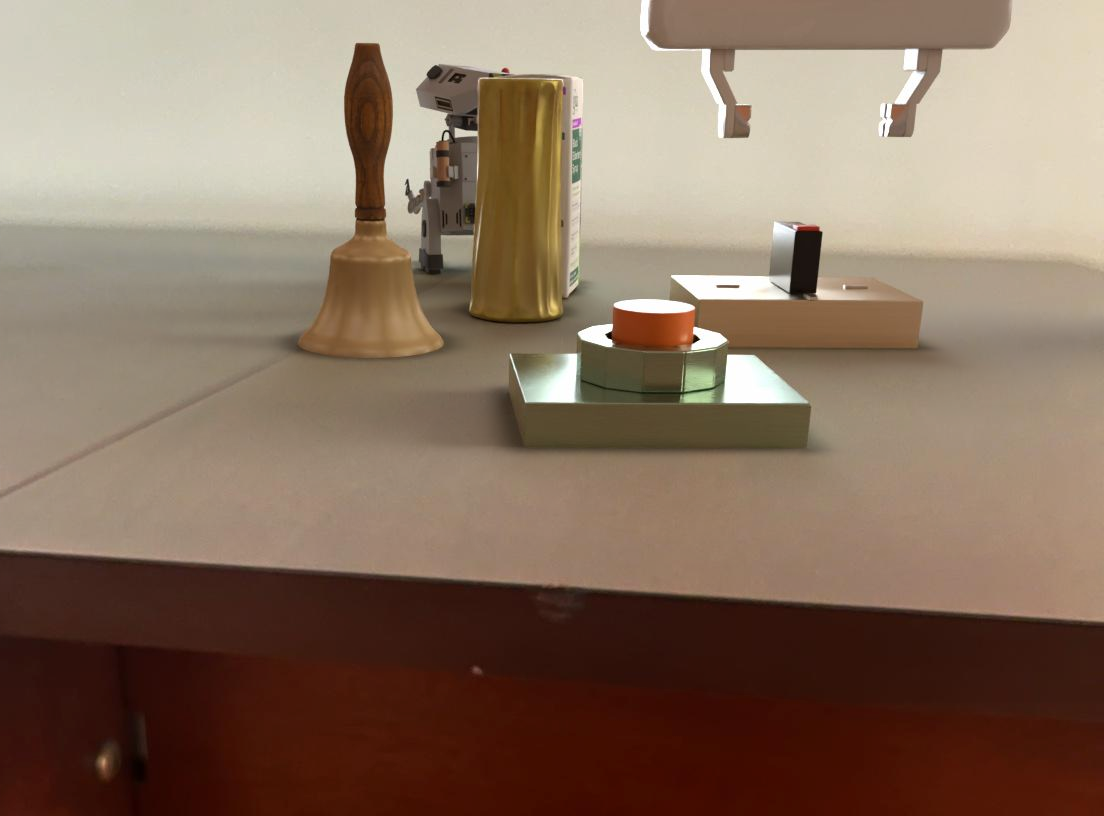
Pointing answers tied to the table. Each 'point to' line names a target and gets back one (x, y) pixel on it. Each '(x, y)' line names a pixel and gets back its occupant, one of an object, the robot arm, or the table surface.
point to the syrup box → (569, 175)
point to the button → (653, 322)
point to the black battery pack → (795, 256)
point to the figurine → (449, 160)
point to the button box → (653, 397)
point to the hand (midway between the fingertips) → (814, 137)
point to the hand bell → (370, 241)
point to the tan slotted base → (802, 312)
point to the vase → (518, 201)
